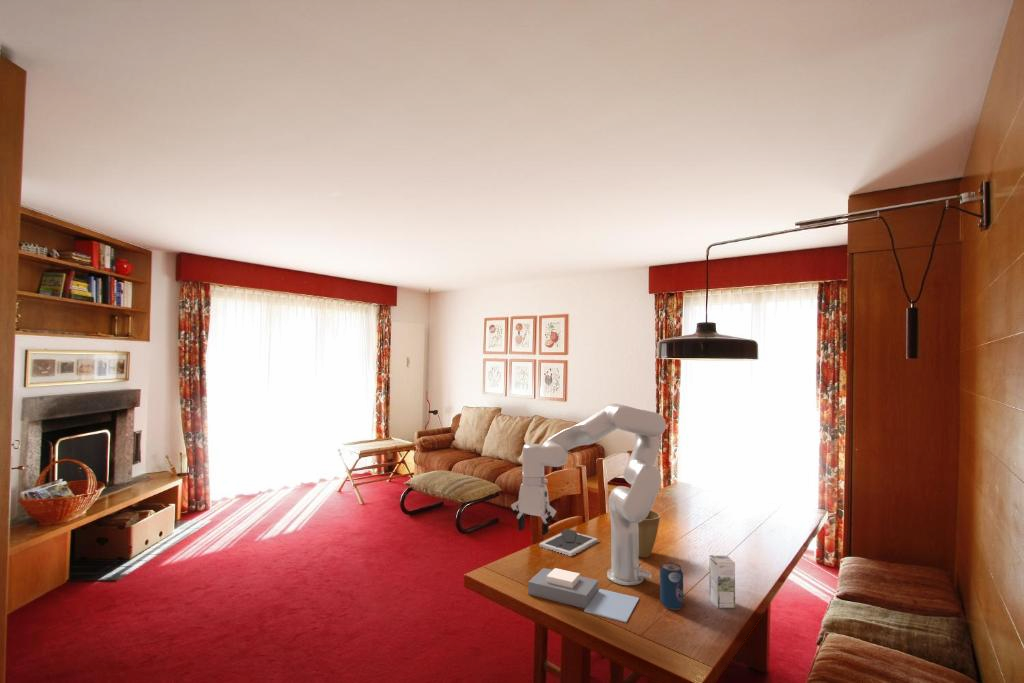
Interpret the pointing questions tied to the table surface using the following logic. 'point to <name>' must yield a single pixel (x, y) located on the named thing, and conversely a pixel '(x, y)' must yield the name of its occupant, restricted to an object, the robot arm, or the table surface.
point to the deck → (563, 590)
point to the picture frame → (568, 542)
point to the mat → (612, 605)
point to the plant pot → (648, 533)
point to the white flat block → (563, 578)
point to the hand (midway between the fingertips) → (533, 531)
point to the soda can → (671, 586)
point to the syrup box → (722, 581)
